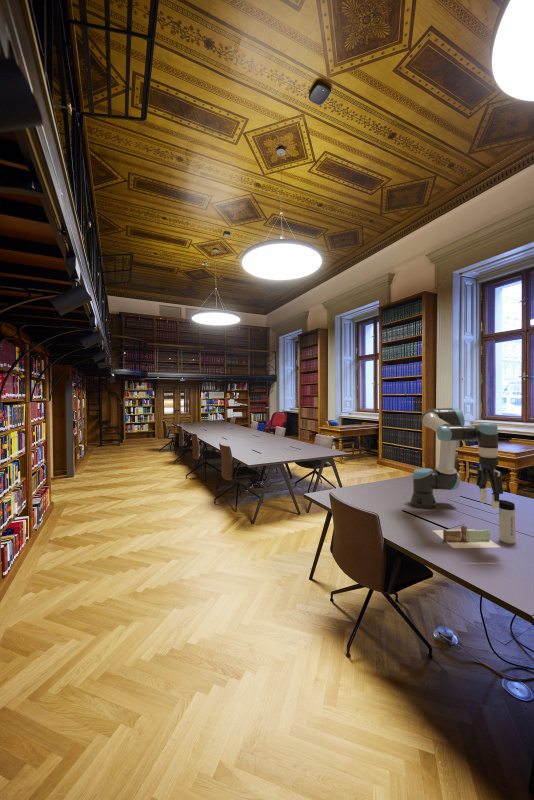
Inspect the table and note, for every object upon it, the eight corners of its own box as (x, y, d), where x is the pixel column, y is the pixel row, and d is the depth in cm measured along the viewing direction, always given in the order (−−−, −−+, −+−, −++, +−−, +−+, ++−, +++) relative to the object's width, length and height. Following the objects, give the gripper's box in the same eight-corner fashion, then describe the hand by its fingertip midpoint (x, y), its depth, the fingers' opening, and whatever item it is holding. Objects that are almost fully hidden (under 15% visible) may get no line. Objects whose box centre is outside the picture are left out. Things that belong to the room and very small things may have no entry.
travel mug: (499, 538, 159) (498, 498, 159) (515, 541, 155) (515, 500, 154) (498, 542, 154) (497, 501, 154) (515, 546, 150) (514, 504, 150)
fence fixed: (442, 540, 157) (442, 526, 157) (465, 539, 157) (464, 525, 157) (444, 542, 154) (444, 528, 154) (468, 542, 154) (467, 527, 154)
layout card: (432, 531, 168) (432, 530, 168) (473, 530, 168) (473, 529, 168) (454, 549, 148) (453, 548, 148) (501, 548, 148) (501, 547, 148)
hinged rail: (468, 540, 155) (468, 530, 155) (466, 539, 156) (466, 529, 156) (490, 540, 154) (490, 530, 154) (488, 539, 156) (488, 528, 156)
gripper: (512, 460, 139) (513, 512, 139) (482, 452, 159) (483, 498, 159) (495, 460, 139) (496, 512, 139) (467, 452, 159) (468, 498, 159)
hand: (489, 504), depth 149 cm, fingers open, 7 cm apart
